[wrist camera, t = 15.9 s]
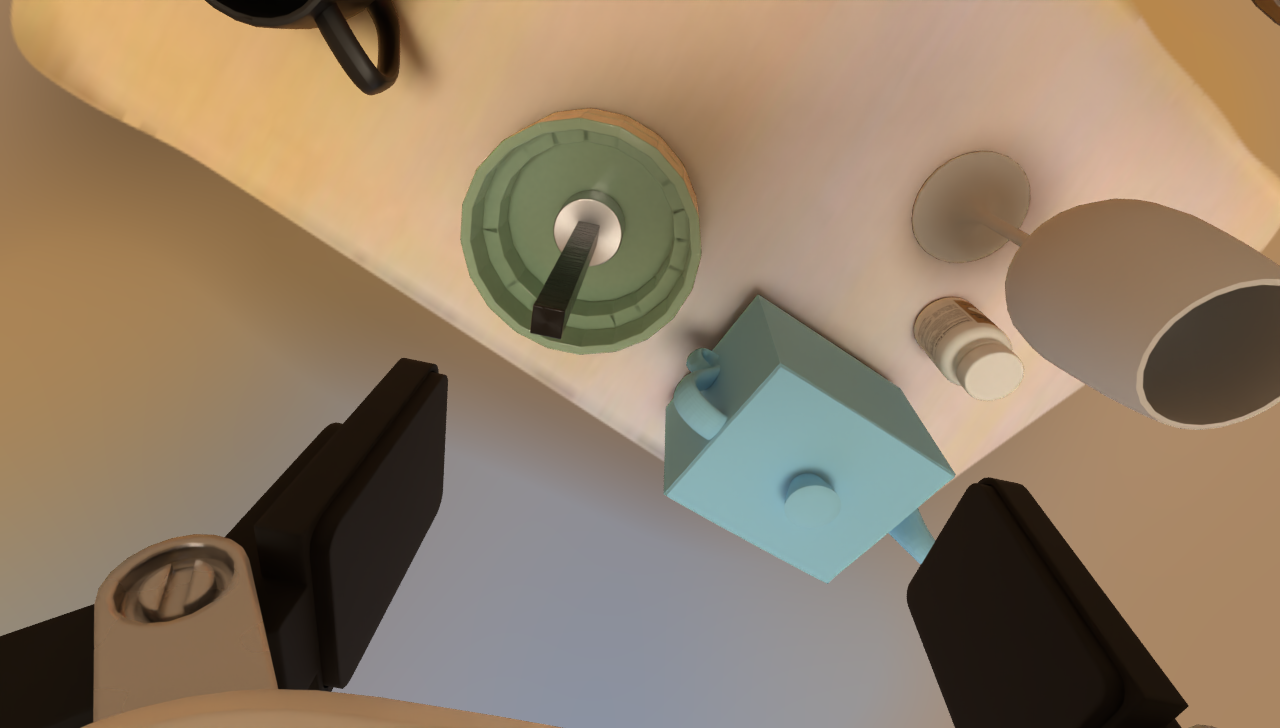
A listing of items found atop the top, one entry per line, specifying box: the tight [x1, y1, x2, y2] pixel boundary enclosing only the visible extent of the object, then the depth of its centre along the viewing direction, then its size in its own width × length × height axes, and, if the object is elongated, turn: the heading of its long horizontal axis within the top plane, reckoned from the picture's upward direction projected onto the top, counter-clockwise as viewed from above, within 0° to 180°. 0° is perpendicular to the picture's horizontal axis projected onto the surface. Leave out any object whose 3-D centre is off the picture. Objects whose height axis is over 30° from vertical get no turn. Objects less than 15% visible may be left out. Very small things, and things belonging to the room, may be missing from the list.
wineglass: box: [912, 151, 1280, 430], centre depth 30 cm, size 8×8×21 cm
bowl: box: [460, 108, 702, 355], centre depth 38 cm, size 14×14×6 cm
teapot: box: [664, 295, 955, 584], centre depth 41 cm, size 22×11×14 cm, turn 57°
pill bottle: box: [914, 297, 1024, 401], centre depth 40 cm, size 4×4×8 cm
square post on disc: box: [530, 190, 625, 339], centre depth 33 cm, size 4×4×16 cm
